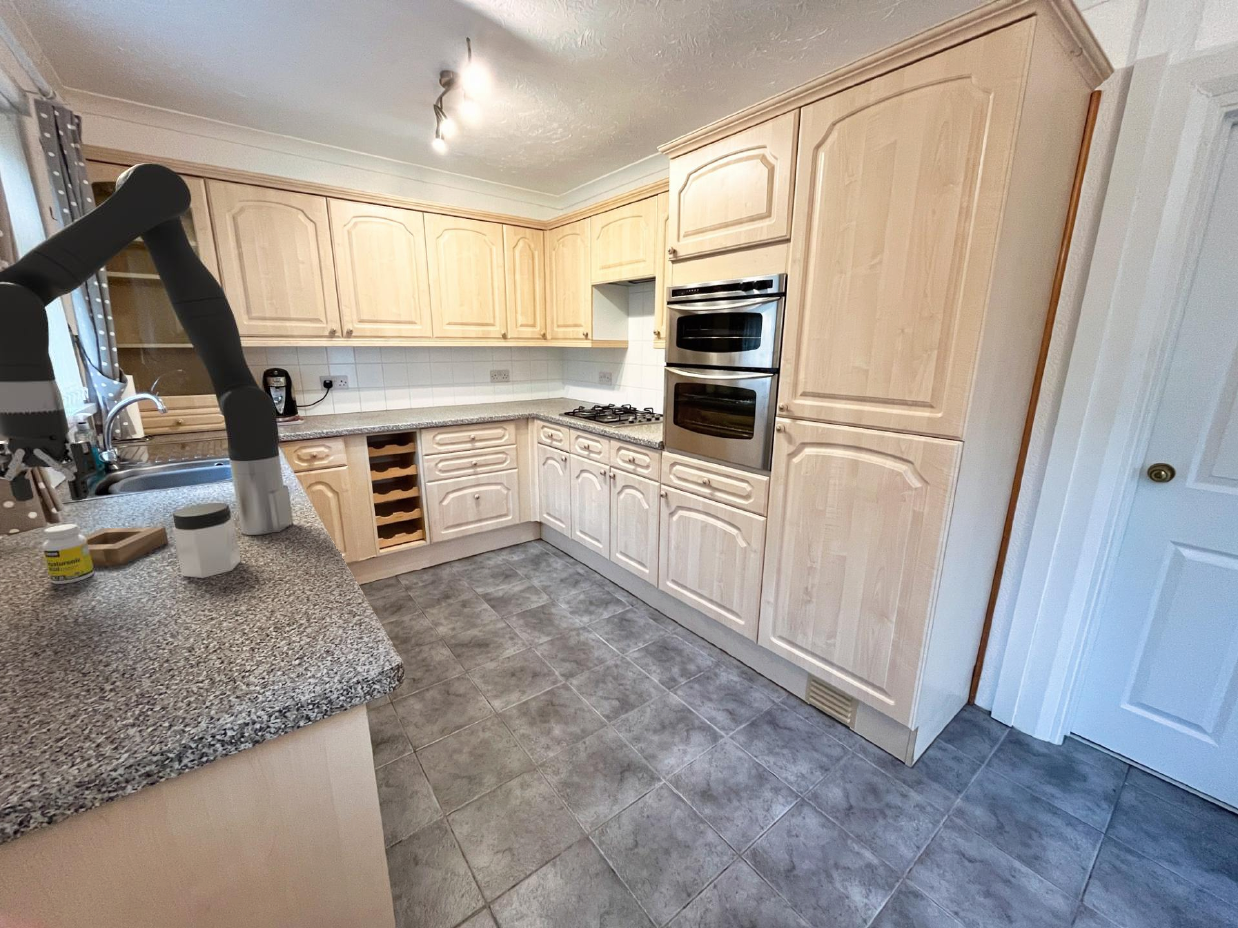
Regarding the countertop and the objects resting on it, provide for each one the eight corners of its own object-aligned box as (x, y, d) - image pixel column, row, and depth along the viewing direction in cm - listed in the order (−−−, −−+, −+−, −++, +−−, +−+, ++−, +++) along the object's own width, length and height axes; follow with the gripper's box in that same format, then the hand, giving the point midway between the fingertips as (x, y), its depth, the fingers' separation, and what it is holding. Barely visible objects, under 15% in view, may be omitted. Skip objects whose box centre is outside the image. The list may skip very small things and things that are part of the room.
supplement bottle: (44, 587, 87) (30, 534, 85) (60, 574, 92) (47, 524, 89) (87, 581, 89) (74, 530, 87) (100, 569, 94) (88, 520, 92)
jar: (229, 575, 92) (218, 514, 90) (175, 581, 90) (162, 519, 87) (246, 556, 101) (236, 500, 98) (196, 562, 98) (185, 504, 95)
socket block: (168, 541, 107) (165, 526, 107) (121, 565, 96) (117, 548, 95) (106, 543, 106) (102, 528, 105) (51, 567, 94) (46, 550, 94)
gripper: (98, 406, 88) (116, 493, 92) (6, 405, 86) (29, 494, 90) (56, 411, 81) (78, 505, 84) (-44, 410, 79) (-18, 507, 83)
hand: (52, 499), depth 87 cm, fingers open, 8 cm apart
